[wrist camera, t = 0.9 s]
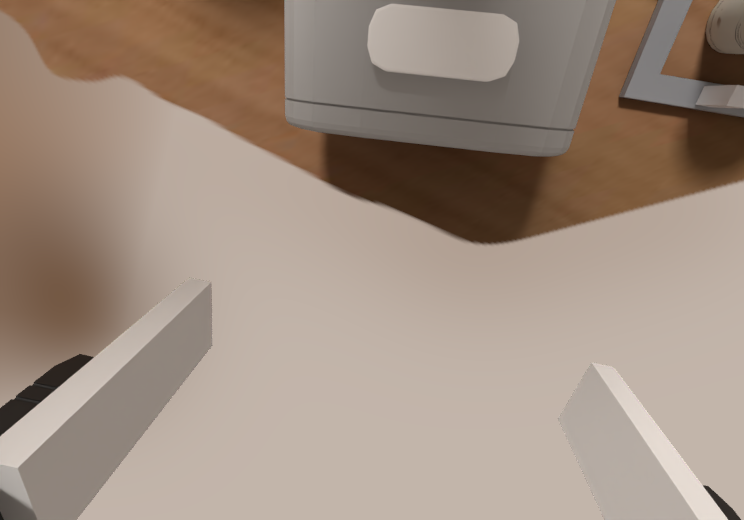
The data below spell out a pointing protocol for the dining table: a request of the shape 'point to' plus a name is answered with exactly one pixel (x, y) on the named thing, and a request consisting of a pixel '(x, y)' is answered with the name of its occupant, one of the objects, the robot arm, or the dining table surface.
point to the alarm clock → (444, 70)
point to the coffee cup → (727, 27)
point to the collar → (669, 89)
